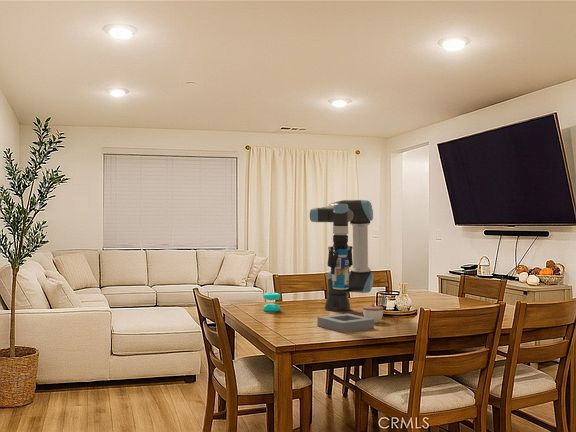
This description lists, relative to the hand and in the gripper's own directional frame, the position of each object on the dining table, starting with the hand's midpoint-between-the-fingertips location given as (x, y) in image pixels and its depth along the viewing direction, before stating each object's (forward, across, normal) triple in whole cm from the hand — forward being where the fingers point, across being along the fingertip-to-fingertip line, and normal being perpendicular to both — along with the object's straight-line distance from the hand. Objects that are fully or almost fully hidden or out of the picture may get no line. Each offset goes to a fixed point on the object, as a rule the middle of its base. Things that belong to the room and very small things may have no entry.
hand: (340, 280), depth 303 cm
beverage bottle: (+4, 0, 0) cm, 4 cm away
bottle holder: (+23, -2, +2) cm, 23 cm away
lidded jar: (+23, -24, -2) cm, 33 cm away
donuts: (+23, +4, -60) cm, 64 cm away
